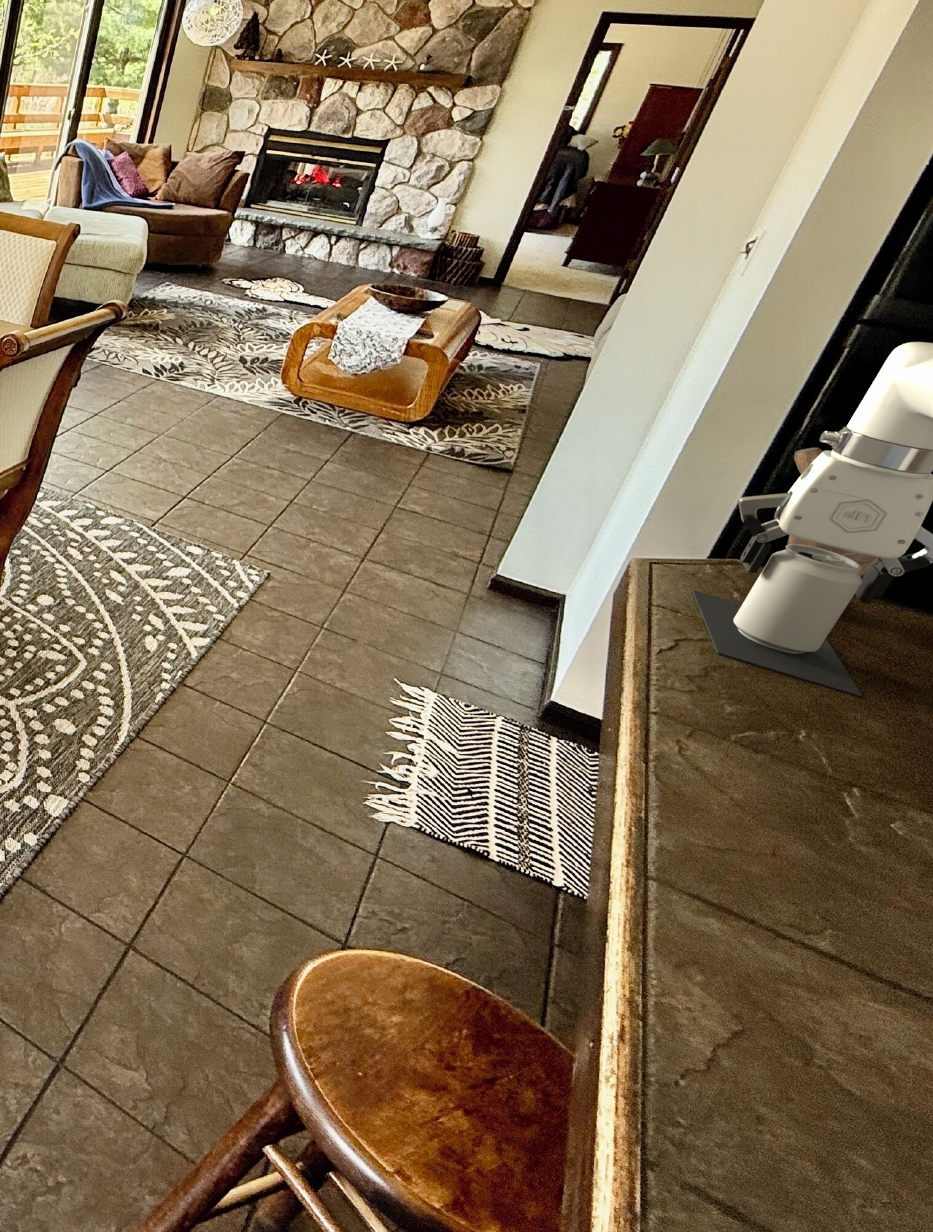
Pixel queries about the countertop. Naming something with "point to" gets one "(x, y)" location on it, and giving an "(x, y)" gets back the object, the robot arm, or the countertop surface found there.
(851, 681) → the mat
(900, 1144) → the countertop surface
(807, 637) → the can
